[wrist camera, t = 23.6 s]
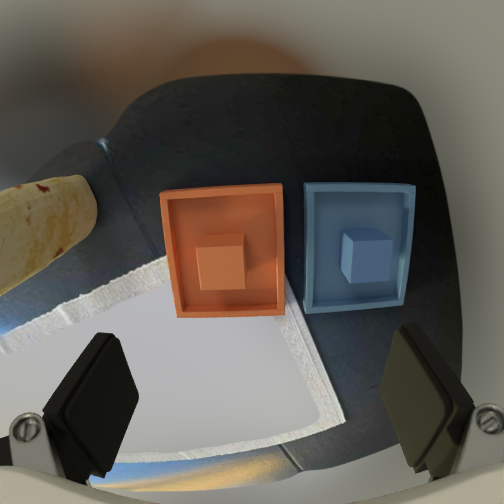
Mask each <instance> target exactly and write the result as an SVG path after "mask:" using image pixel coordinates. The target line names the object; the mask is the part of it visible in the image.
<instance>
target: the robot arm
mask: <svg viewBox="0 0 504 504" xmlns="http://www.w3.org/2000/svg"><path fill="white" fill-rule="evenodd" d="M380 394H381V397H382V399H383V402H384V404H385V407H386V409H387V412H388V414H389V417H390V419H391V422H392V424H393V427H394V429H395V432H396V434H397V437H398V439H399V442H400V445H401V447H402V450H403V453H404V455H405V458H406V461H407V463H408V465H409V466H410V467H413V468H414V471H415V473H419V472H422V471H425V470H429V472H430V475H431V476H430V479H429V481H428V483H427V484H424V485H421V486H417V487H414V488H411V489H407V490H404V491H400V492H396V493H393V494H389V495H385V496H381V497H377V498H373V499H369V500H364V501H359V502H353V503H348V504H504V409H503V408H502V407H500V406H499V405H496V404H493V403H485V404H481V405H479V406H477V407H475V406H474V404H473V402H474V401H473V400H472V398H471V397H470V395H469V394H468V392H467V391H466V389H465V388H464V386H463V385H462V383H461V382H460V380H459V379H458V378H457V376H456V375H455V373H454V372H453V370H452V369H451V368H450V366H449V365H448V363H447V362H446V361H445V359H444V358H443V356H442V355H441V354H440V352H439V351H438V350H437V348H436V347H435V346H434V344H433V343H432V342H431V340H430V339H429V338H428V336H427V335H426V334H425V332H424V331H423V330H422V328H421V327H420V326H419V325H418V324H417V323H409V324H402V325H400V327H399V329H397V330H395V332H394V336H393V340H392V344H391V348H390V352H389V356H388V360H387V364H386V367H385V371H384V375H383V378H382V382H381V385H380ZM138 400H139V394H138V390H137V388H136V385H135V383H134V380H133V378H132V375H131V372H130V369H129V366H128V364H127V361H126V358H125V355H124V352H123V349H122V346H121V343H120V340H119V339H118V338H116V337H115V335H114V334H112V333H101V332H100V333H97V334H96V335H95V336H94V337H93V339H92V340H91V341H90V343H89V344H88V345H87V347H86V348H85V349H84V351H83V352H82V353H81V355H80V356H79V358H78V359H77V360H76V362H75V363H74V365H73V366H72V367H71V369H70V370H69V372H68V373H67V374H66V376H65V377H64V379H63V380H62V382H61V383H60V385H59V386H58V388H57V389H56V390H55V392H54V393H53V395H52V396H51V398H50V399H49V401H48V402H47V404H46V405H45V407H44V408H43V410H42V411H43V412H44V415H43V417H41V416H40V415H38V414H36V413H31V412H30V413H24V414H21V415H19V416H18V417H17V418H15V419H14V421H13V422H12V423H11V425H10V428H9V436H6V437H3V438H0V504H158V503H152V502H147V501H142V500H138V499H133V498H129V497H124V496H120V495H116V494H113V493H109V492H106V491H102V490H98V489H95V488H92V487H91V484H90V482H89V476H90V474H91V475H94V476H97V477H101V478H105V475H106V472H109V471H110V470H111V469H112V467H113V464H114V461H115V459H116V456H117V453H118V451H119V448H120V445H121V442H122V440H123V438H124V435H125V433H126V430H127V428H128V425H129V423H130V420H131V417H132V415H133V413H134V410H135V408H136V405H137V403H138Z"/></svg>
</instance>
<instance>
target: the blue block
mask: <svg viewBox="0 0 504 504" xmlns="http://www.w3.org/2000/svg"><path fill="white" fill-rule="evenodd" d="M392 250H393V239H392V238H390V237H389V236H387V235H386V234H384V233H383V232H381V231H380V230H379V229H347V230H341V237H340V260H339V268H340V270H341V271H342V273H343V274H344V275H345V277H346V278H347V280H348V281H349V283H350V284H351V283H365V282H378V281H389V277H390V269H391V260H392Z"/></svg>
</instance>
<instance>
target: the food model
mask: <svg viewBox="0 0 504 504" xmlns="http://www.w3.org/2000/svg"><path fill="white" fill-rule="evenodd" d="M97 213H98V212H97V202H96V200H95V197H94V194H93V192H92V190H91V188H90V186H89V184H88V182H87V181H86V179H85V178H84V177H82V176H80V175H73V176H69V177H56V178H50V179H46V180H42V181H38V182H34V183H28V184H22V185H18V186H15V187H12V188H9V189H6V190H3V191H1V192H0V296H1V295H3V294H4V293H6V292H7V291H9V290H11V289H12V288H14V287H16V286H17V285H19V284H20V283H22V282H24V281H25V280H27V279H28V278H30V277H31V276H33V275H34V274H36V273H37V272H39V271H40V270H42V269H43V268H45V267H46V266H48V265H49V264H51V263H52V262H53V261H55V260H56V259H58V258H59V257H60V256H62V255H63V254H64V253H65V252H66V251H67V250H69V249H70V248H71V247H72V246H74V245H76V244H77V243H79V242H80V241H82V240H83V239H84V238H85V237H87V236H88V235H89V234H90V233H91V231H92V229H93V227H94V226H95V224H96V219H97Z"/></svg>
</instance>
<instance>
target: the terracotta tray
mask: <svg viewBox="0 0 504 504" xmlns="http://www.w3.org/2000/svg"><path fill="white" fill-rule="evenodd" d="M160 204H161V213H162V221H163V230H164V238H165V245H166V252H167V259H168V266H169V273H170V279H171V285H172V291H173V297H174V303H175V309H176V314H177V318H203V317H205V318H207V317H250V316H275V315H285V268H284V215H283V186H282V184H281V183H272V184H249V185H230V186H215V187H201V188H188V189H176V190H165V191H163V192H161V193H160ZM238 233H245V245H246V262H247V280H246V289H229V290H201V286H200V278H199V270H198V261H197V252H196V247H197V245H198V244H199V242H200V240H201V239H202V237H203V236H204V235H217V234H238Z"/></svg>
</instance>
